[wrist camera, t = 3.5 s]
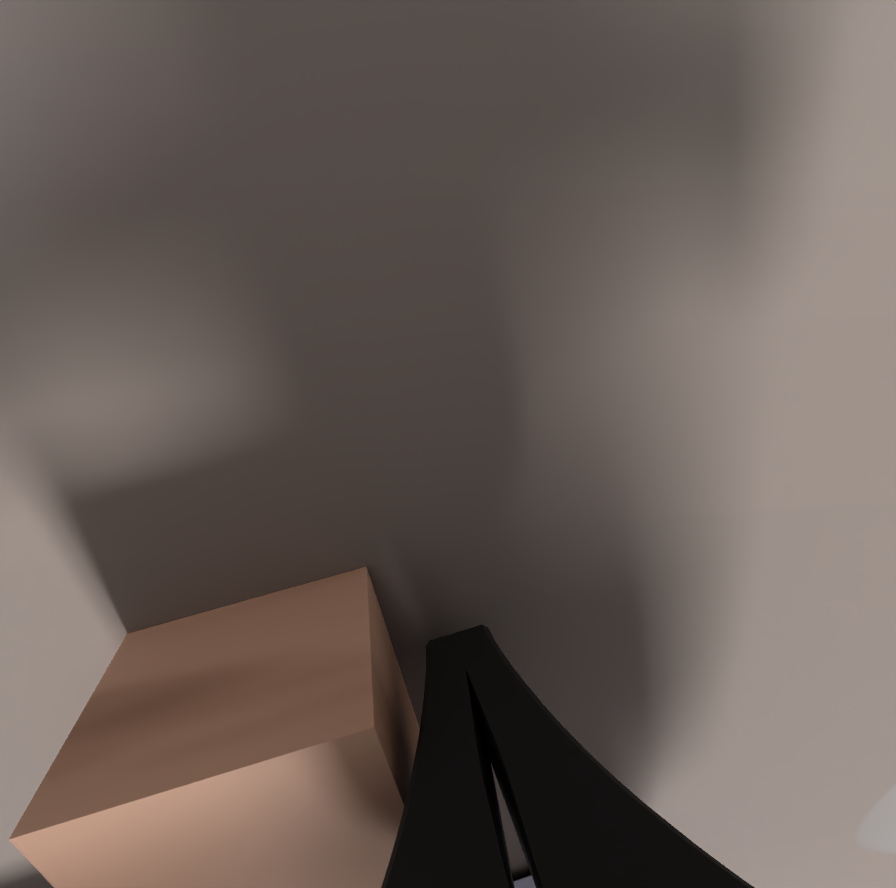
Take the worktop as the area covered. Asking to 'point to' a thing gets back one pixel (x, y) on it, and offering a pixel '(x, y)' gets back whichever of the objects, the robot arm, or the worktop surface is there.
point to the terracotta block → (236, 752)
